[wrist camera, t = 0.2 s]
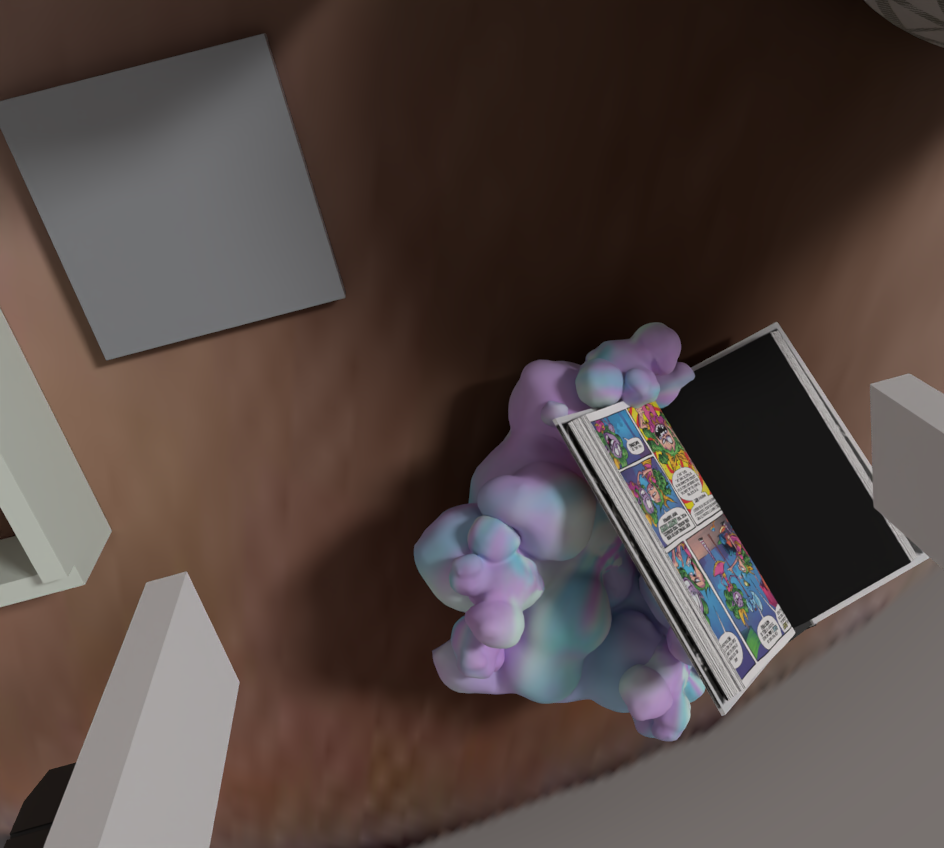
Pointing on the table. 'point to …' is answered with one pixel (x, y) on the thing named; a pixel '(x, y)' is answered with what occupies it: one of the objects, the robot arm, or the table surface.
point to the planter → (914, 17)
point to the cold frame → (40, 491)
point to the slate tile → (176, 195)
